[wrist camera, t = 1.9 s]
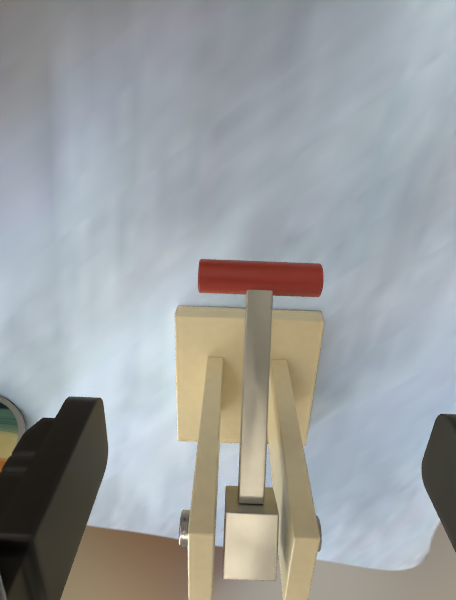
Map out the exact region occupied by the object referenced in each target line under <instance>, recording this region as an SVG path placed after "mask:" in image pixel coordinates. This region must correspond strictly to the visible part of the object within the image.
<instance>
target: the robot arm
mask: <svg viewBox="0 0 456 600" xmlns="http://www.w3.org/2000/svg"><path fill="white" fill-rule="evenodd" d="M107 458H108V441H107V432H106V423H105V414H104V405H103V401H102V399H101V398H93V397H68V398H67V399H66V400H65V402H64V403H63V405H62V407H61V409H60V410H59V412H58V414H57V416H56V418H42V419H41V420H39V421H38V422H37V423H36V424H35V425H33V426H32V427H31V428H30V429H29V430H27V431H26V432H25V433H24V434H23V435H22V437H21V439H20V440H19V442H18V443H17V445H16V447H15V448H14V450H13V451H12V455H11V456H9V458H8V459H7V461H6V462H5V464H4V466H3V467H2V471H1V473H0V600H60V598H61V596H62V593H63V590H64V587H65V584H66V581H67V578H68V576H69V573H70V570H71V567H72V564H73V561H74V558H75V556H76V553H77V550H78V547H79V544H80V541H81V538H82V536H83V533H84V530H85V527H86V524H87V521H88V519H89V516H90V513H91V510H92V507H93V504H94V501H95V499H96V496H97V493H98V490H99V487H100V484H101V481H102V479H103V476H104V473H105V469H106V465H107ZM422 478H423V483H424V486H425V489H426V491H427V493H428V495H429V497H430V499H431V501H432V503H433V506H434V508H435V510H436V512H437V514H438V516H439V518H440V520H441V522H442V524H443V526H444V529H445V531H446V533H447V535H448V537H449V539H450V541H451V543H452V545H453V548H454V550H455V552H456V414H440V415H439V416H438V417H437V418H436V420H435V423H434V426H433V429H432V432H431V435H430V439H429V442H428V445H427V448H426V451H425V454H424V457H423V460H422Z"/></svg>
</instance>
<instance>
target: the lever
mask: <svg viewBox="0 0 456 600" xmlns="http://www.w3.org/2000/svg"><path fill="white" fill-rule="evenodd" d="M322 288H323V268H322V265H321V264H314V263H288V262H263V261H237V260H211V259H201V260H200V261H199V270H198V290H199V292H200V293H223V294H246V303H245V328H244V354H243V379H242V404H241V429H240V455H239V480H238V486H226V492H225V518H224V544H223V579H230V580H255V581H276V577H277V553H278V529H279V512H278V508H277V503H276V499H275V494H274V490H273V488H268V487H265V474H266V450H267V425H268V401H269V376H270V352H271V327H272V303H273V295H275V296H301V297H319V296H320V295H321V292H322Z"/></svg>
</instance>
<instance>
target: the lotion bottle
mask: <svg viewBox="0 0 456 600" xmlns="http://www.w3.org/2000/svg"><path fill="white" fill-rule="evenodd" d="M24 433H25V422H24V419H23V416H22V415H21V413H20V411H19V410H18V409H17V408H16V407H15V406H14V405H13V404H12V403H11V402H9V401H8V400H6V399H5V398H3V397H1V396H0V473H1V471H2V467H3V466H4V464H5V462H6V461H7V459H8V458H9V456H11V455H12V451H13V450H14V448H15V447H16V445H17V443H18V442H19V440H20V439H21V437H22V435H23V434H24Z"/></svg>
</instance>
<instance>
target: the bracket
mask: <svg viewBox="0 0 456 600" xmlns="http://www.w3.org/2000/svg"><path fill="white" fill-rule="evenodd" d="M324 323H325V322H324V319H323V317H322V314H321V312H320V311H298V310H273V309H272V327H271V352H270V376H269V401H268V425H267V444H269V451H270V462H271V473H272V484H273V490H274V494H275V499H276V503H277V508H278V512H279V529H278V550H279V560H280V572H281V582H282V594H283V600H308V597H309V592H310V587H311V582H312V577H313V572H314V567H315V562H316V557H317V552H319V551H320V549H321V542H322V535H321V525H320V520H319V518H318V516H316V513H315V508H314V503H313V497H312V492H311V487H310V481H309V476H308V471H307V465H306V460H305V454H304V449H303V446H305V445H306V440H307V433H308V427H309V420H310V414H311V407H312V401H313V394H314V388H315V381H316V375H317V368H318V362H319V355H320V349H321V342H322V336H323V329H324ZM244 328H245V308H221V307H195V306H178V307H177V310H176V313H175V351H176V393H177V434H178V441H194V442H198V445H197V454H196V463H195V472H194V481H193V490H192V499H191V508H190V510H182V513H181V518H180V528H179V546H181V547H188V594H189V596H188V597H189V600H212V594H213V574H214V553H215V532H216V512H217V491H218V470H219V450H220V443H240V429H241V404H242V379H243V354H244Z"/></svg>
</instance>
